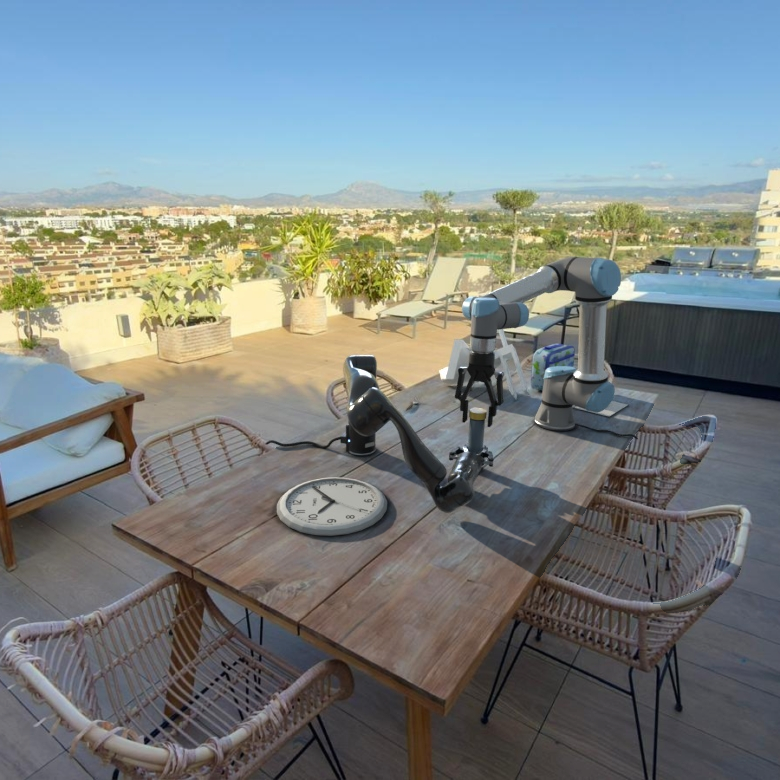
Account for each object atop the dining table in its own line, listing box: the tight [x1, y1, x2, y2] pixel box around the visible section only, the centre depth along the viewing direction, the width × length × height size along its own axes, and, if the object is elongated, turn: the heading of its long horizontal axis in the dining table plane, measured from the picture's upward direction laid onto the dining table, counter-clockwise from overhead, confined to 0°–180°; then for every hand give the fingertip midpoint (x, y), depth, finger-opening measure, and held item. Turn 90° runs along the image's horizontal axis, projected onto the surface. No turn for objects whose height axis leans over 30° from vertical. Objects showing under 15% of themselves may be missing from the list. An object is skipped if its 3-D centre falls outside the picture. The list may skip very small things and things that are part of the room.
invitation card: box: [573, 400, 629, 418], centre depth 226 cm, size 21×1×15 cm
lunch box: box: [530, 343, 576, 391], centre depth 249 cm, size 26×11×21 cm, turn 134°
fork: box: [405, 396, 421, 411], centre depth 222 cm, size 3×16×2 cm, turn 160°
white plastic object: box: [438, 329, 531, 400], centre depth 245 cm, size 37×45×31 cm
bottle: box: [467, 417, 486, 472], centre depth 163 cm, size 5×5×19 cm
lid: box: [468, 407, 488, 420], centre depth 160 cm, size 5×5×2 cm
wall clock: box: [276, 476, 388, 537], centre depth 142 cm, size 30×2×30 cm
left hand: (476, 447), depth 166 cm, fingers closed on bottle, 4 cm apart
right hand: (477, 423), depth 161 cm, fingers open, 7 cm apart
